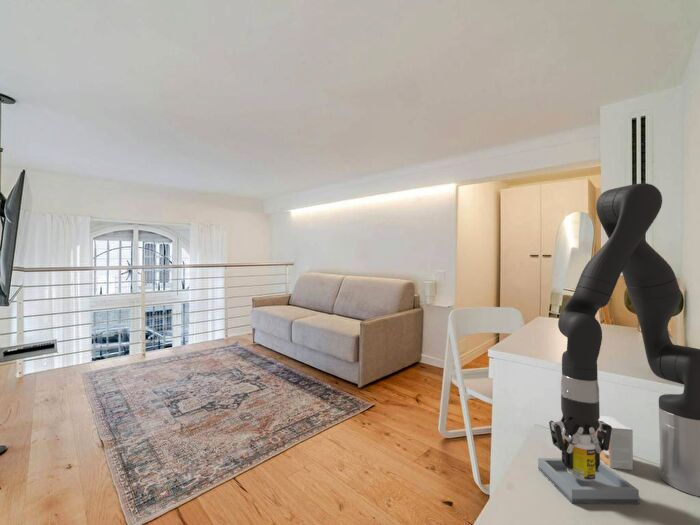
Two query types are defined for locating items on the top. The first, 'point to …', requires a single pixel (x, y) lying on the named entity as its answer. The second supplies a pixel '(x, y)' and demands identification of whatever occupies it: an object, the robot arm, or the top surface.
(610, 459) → the small box
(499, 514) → the top surface
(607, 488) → the slate tray
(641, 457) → the top surface
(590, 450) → the supplement bottle
